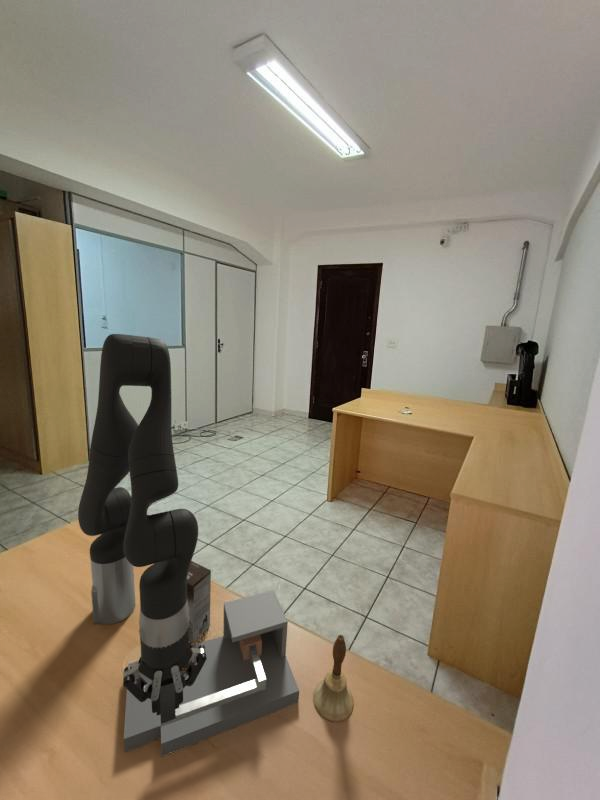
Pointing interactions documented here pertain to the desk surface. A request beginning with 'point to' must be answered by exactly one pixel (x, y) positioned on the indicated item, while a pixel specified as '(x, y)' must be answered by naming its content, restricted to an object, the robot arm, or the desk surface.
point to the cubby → (224, 679)
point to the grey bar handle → (210, 701)
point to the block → (249, 642)
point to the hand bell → (334, 688)
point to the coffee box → (198, 599)
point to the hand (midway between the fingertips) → (167, 706)
